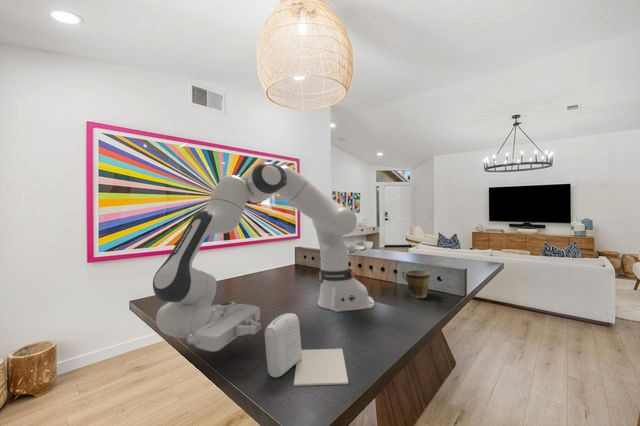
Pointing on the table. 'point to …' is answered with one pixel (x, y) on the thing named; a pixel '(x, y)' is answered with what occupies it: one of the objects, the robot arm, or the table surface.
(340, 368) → the mat
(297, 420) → the table surface
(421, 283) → the ceramic cup
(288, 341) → the photo printer
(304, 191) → the robot arm
